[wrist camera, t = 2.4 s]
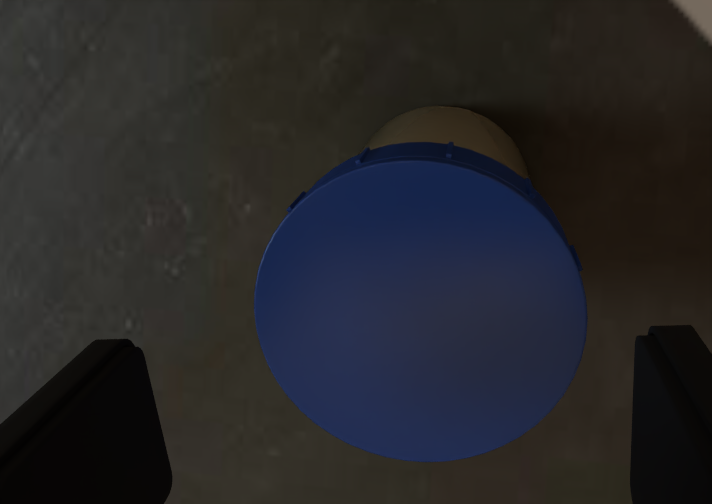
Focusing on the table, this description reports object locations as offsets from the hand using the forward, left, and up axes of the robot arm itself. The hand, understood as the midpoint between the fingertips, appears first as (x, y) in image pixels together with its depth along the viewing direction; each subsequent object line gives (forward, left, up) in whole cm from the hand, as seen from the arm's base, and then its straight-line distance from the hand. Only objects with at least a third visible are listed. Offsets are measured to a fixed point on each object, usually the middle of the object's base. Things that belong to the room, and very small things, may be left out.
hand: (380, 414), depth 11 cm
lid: (0, 0, -4) cm, 4 cm away
